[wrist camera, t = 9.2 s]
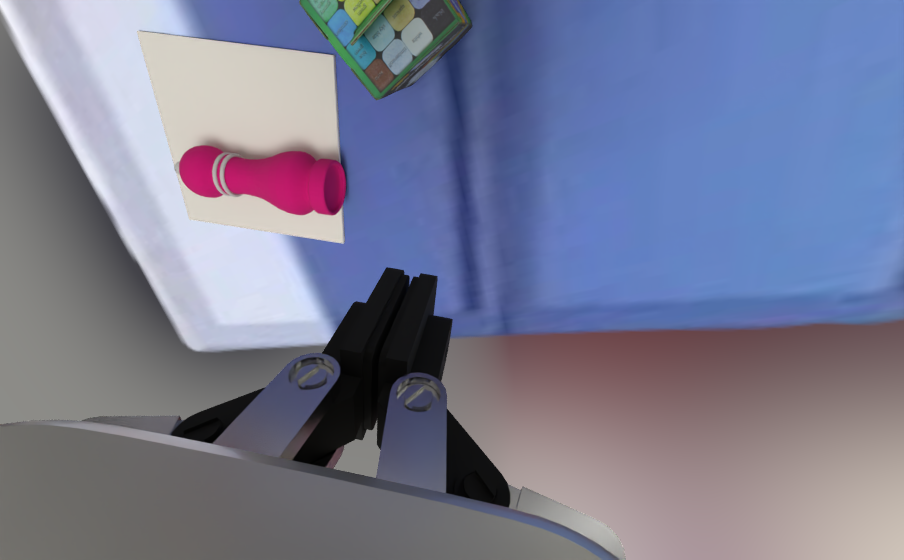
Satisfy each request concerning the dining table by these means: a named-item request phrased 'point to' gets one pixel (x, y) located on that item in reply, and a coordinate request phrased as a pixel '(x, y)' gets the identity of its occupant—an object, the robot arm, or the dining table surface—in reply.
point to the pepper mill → (266, 179)
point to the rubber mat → (246, 118)
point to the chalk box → (389, 37)
